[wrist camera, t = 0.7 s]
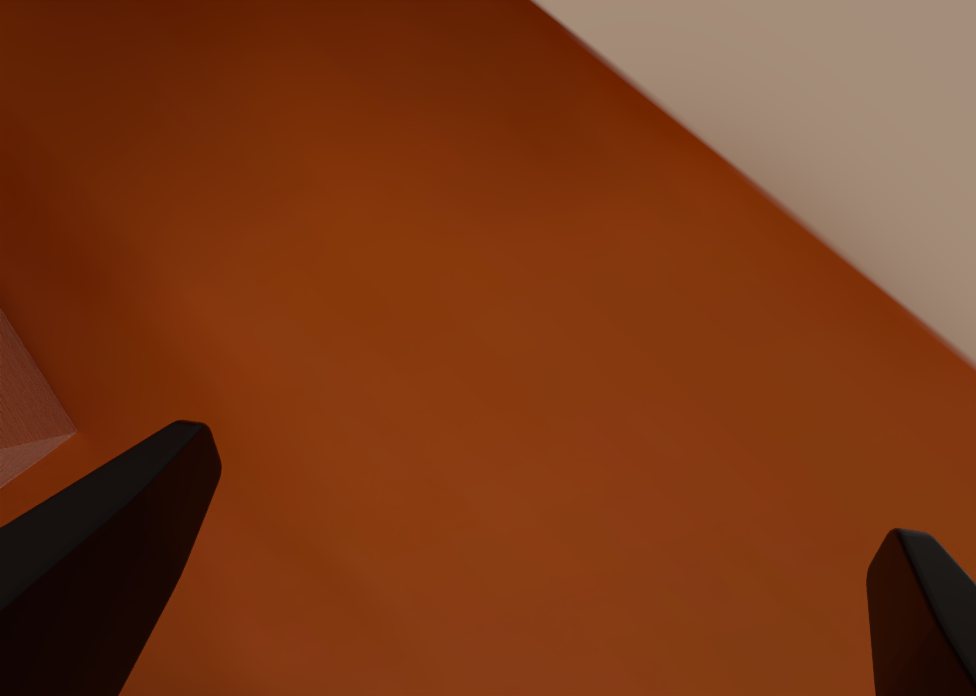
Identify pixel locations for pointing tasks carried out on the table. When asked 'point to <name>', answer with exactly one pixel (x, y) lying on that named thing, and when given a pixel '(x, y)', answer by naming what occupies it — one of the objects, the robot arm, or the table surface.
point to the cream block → (26, 409)
